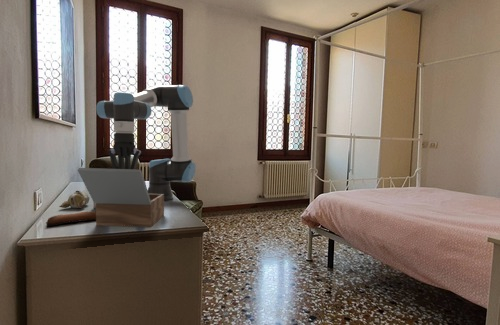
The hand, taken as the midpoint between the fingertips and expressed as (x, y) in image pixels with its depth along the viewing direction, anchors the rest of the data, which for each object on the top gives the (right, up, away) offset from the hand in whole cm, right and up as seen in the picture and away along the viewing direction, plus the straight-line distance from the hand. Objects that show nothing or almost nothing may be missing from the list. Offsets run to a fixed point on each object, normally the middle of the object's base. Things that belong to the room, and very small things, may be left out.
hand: (124, 191), depth 121 cm
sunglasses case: (-24, -14, +4) cm, 28 cm away
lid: (0, +3, -7) cm, 7 cm away
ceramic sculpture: (-36, -11, +29) cm, 47 cm away
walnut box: (0, -13, +9) cm, 16 cm away
